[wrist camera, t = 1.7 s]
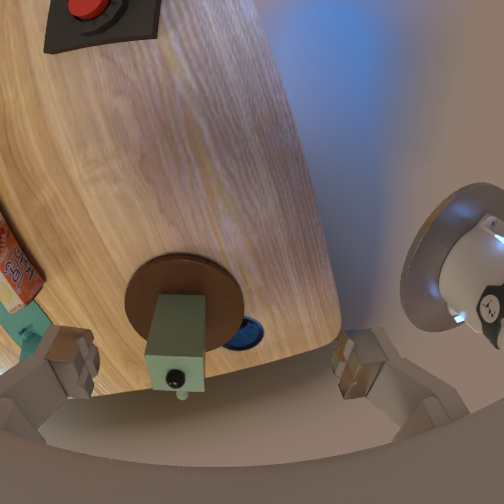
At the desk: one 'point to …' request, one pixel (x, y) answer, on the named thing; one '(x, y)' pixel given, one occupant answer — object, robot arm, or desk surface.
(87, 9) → the switch
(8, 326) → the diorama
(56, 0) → the switch base
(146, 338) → the kettle
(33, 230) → the desk surface
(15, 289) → the snack package
